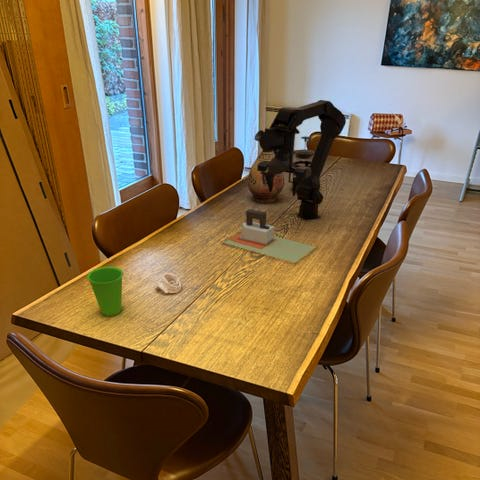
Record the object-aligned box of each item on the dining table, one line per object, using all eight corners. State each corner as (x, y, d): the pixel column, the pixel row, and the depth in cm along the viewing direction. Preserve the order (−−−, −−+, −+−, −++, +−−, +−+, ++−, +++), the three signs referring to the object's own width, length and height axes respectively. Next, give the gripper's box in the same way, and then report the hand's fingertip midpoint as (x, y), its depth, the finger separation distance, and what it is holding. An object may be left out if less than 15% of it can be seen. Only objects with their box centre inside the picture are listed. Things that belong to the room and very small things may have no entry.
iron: (273, 239, 165) (275, 211, 159) (265, 246, 160) (266, 217, 155) (246, 233, 169) (246, 206, 164) (237, 239, 165) (237, 211, 159)
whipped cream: (168, 283, 141) (166, 268, 139) (187, 286, 138) (185, 270, 136) (152, 293, 134) (150, 277, 132) (172, 297, 132) (170, 280, 129)
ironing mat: (223, 243, 163) (223, 241, 163) (247, 230, 174) (247, 228, 173) (294, 264, 150) (294, 262, 150) (316, 248, 160) (316, 246, 160)
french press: (316, 188, 216) (321, 135, 203) (310, 194, 208) (314, 140, 196) (292, 185, 220) (295, 133, 207) (285, 191, 212) (288, 137, 200)
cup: (97, 303, 129) (90, 267, 123) (130, 301, 130) (125, 265, 124) (91, 321, 122) (83, 283, 116) (126, 319, 122) (121, 282, 116)
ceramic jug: (258, 207, 194) (260, 130, 178) (241, 197, 205) (241, 123, 189) (293, 201, 201) (298, 126, 184) (274, 191, 212) (277, 120, 196)
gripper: (250, 147, 160) (248, 194, 167) (300, 154, 151) (295, 203, 159) (266, 144, 168) (263, 188, 176) (314, 150, 160) (309, 196, 167)
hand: (281, 193), depth 169 cm, fingers open, 9 cm apart
